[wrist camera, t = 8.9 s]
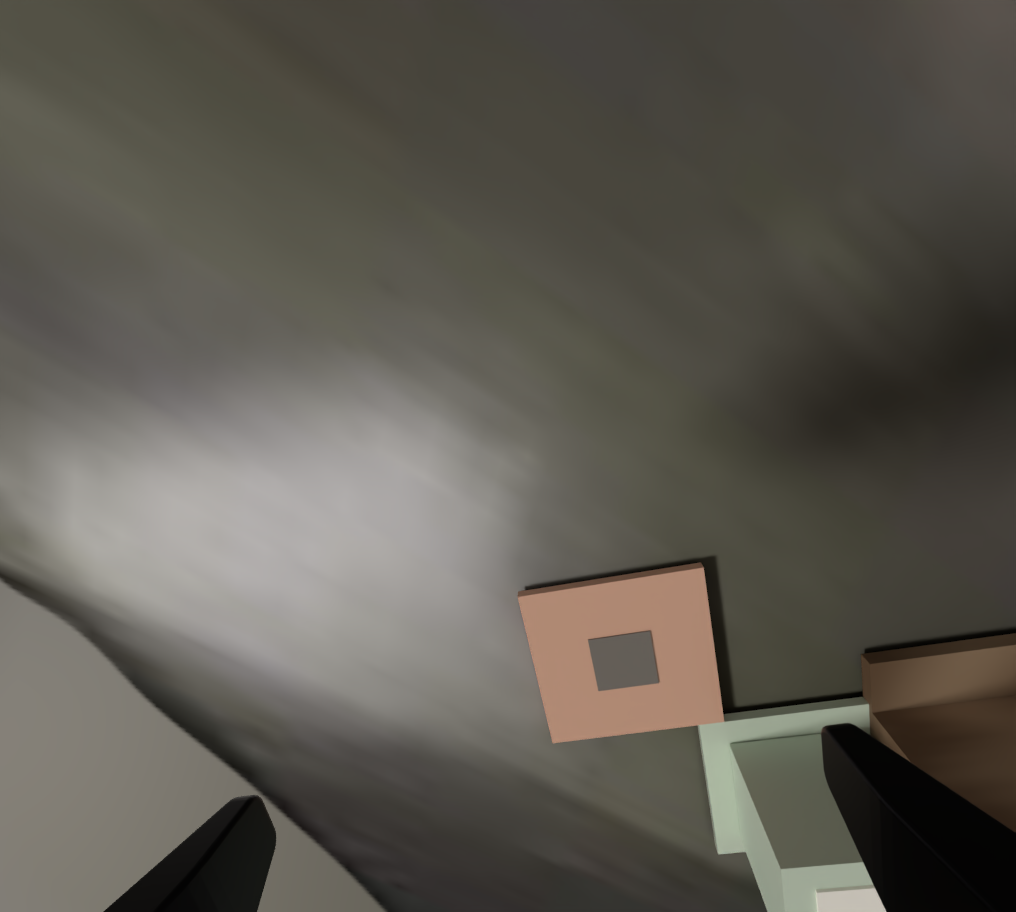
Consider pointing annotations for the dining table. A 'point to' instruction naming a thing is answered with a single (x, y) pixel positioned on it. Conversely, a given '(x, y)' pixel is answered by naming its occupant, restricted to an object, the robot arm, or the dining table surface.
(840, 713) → the sage pad
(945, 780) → the walnut screen
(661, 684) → the terracotta pad
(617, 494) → the dining table surface
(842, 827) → the sage block
